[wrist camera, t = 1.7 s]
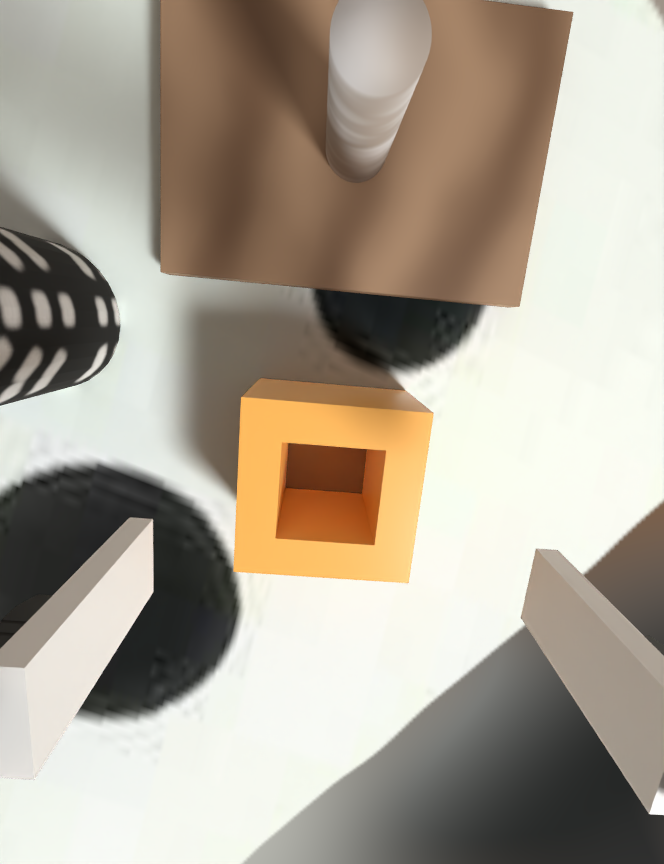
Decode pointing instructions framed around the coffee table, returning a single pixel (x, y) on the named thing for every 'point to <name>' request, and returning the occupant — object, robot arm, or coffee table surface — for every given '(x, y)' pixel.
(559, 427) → the coffee table surface
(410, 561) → the collar
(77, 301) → the white-spotted black cylinder
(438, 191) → the post board
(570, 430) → the coffee table surface
